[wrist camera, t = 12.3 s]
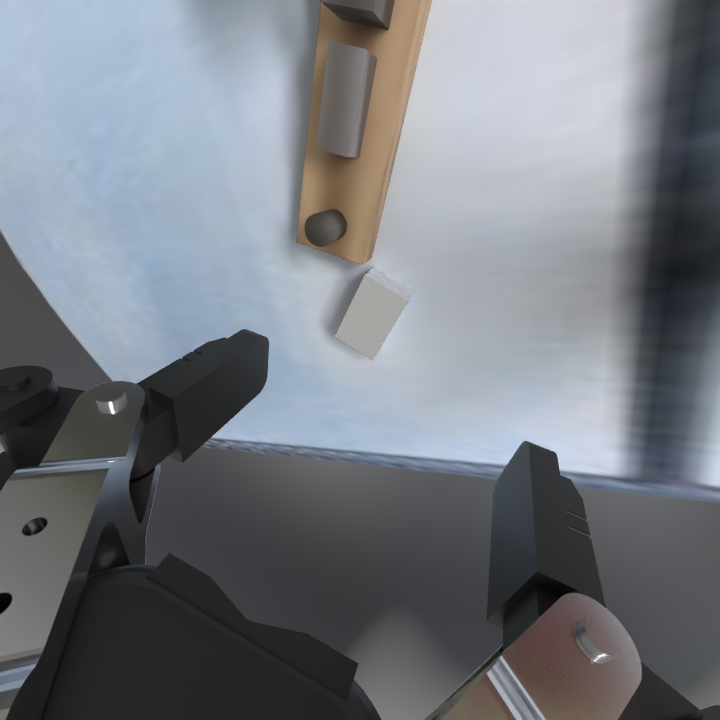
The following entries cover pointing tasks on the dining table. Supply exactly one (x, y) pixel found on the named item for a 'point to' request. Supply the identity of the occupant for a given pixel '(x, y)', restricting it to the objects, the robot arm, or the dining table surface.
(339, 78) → the body
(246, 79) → the dining table surface
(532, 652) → the robot arm
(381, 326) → the lever cap
